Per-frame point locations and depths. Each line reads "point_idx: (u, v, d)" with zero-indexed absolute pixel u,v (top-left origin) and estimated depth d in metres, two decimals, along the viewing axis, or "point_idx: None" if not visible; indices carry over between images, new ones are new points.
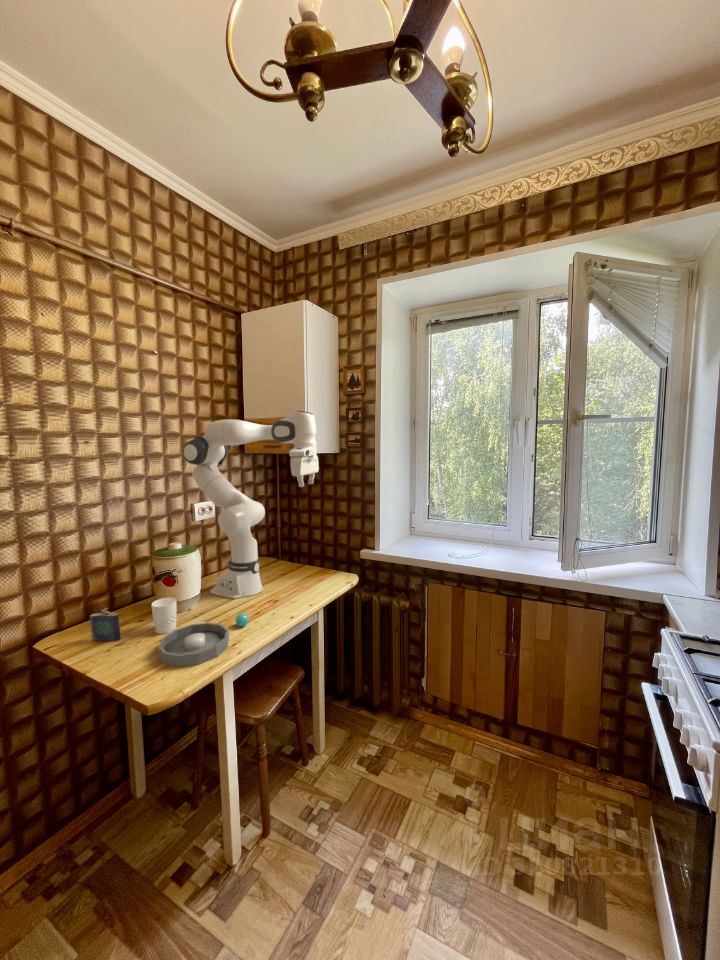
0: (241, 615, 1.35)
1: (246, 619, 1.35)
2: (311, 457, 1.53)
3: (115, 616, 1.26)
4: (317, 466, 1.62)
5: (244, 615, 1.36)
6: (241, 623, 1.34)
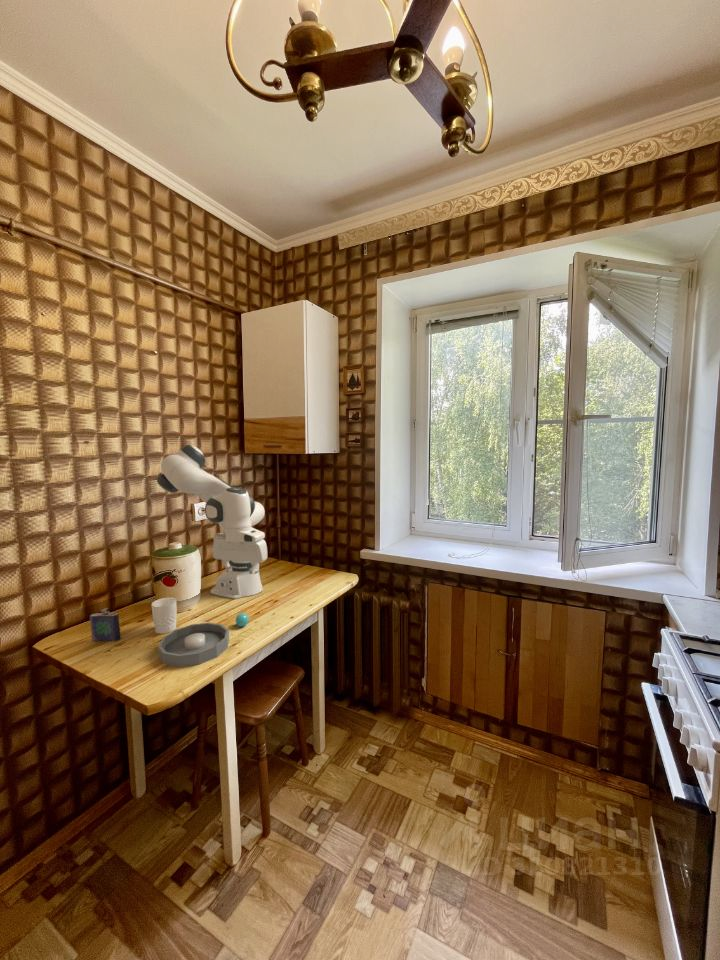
0: (241, 615, 1.35)
1: (246, 619, 1.35)
2: None
3: (115, 616, 1.27)
4: None
5: (244, 615, 1.36)
6: (241, 623, 1.34)
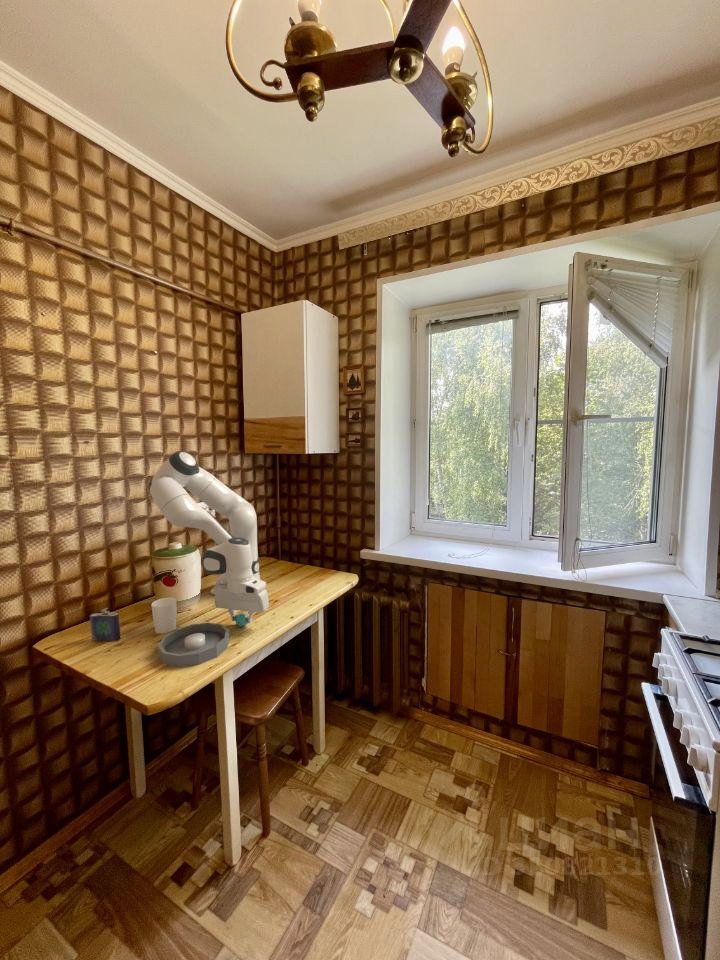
0: (241, 615, 1.35)
1: None
2: None
3: (115, 616, 1.27)
4: None
5: (244, 615, 1.36)
6: (240, 623, 1.34)
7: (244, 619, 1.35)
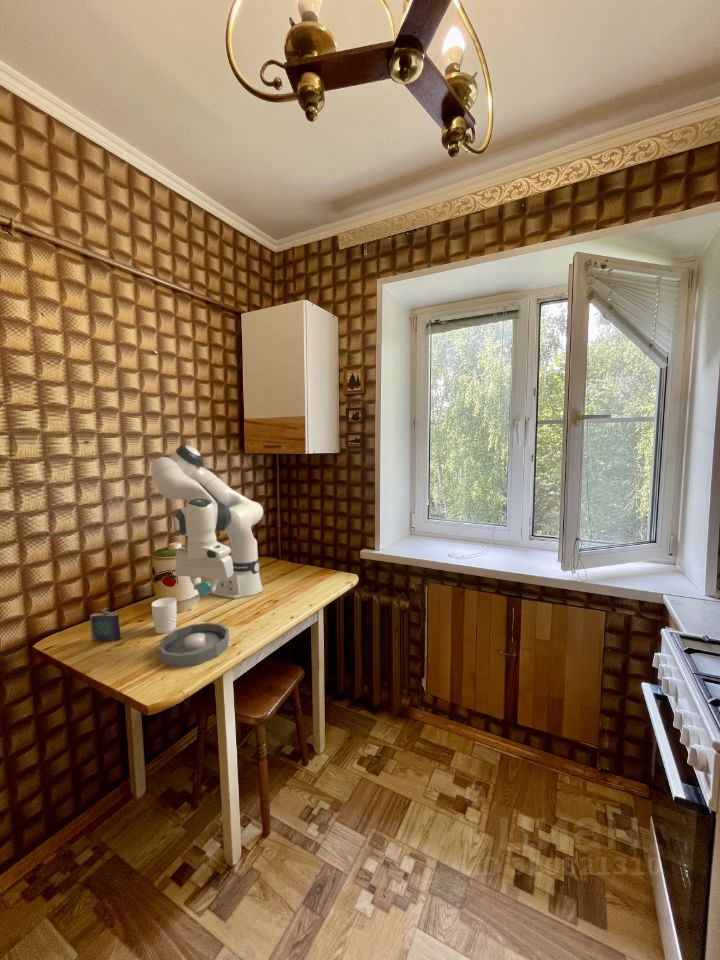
0: (203, 583, 1.25)
1: None
2: None
3: (115, 616, 1.27)
4: None
5: (207, 583, 1.25)
6: (202, 592, 1.24)
7: (206, 587, 1.24)
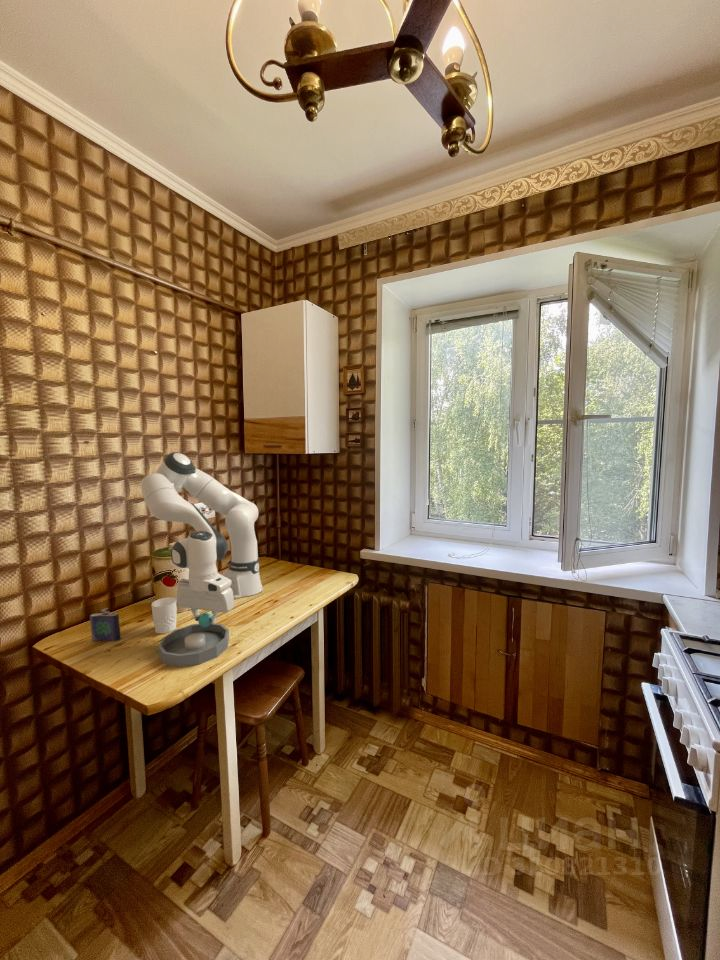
0: (204, 615, 1.26)
1: None
2: None
3: (115, 616, 1.27)
4: None
5: (207, 615, 1.26)
6: (203, 624, 1.25)
7: (207, 619, 1.25)
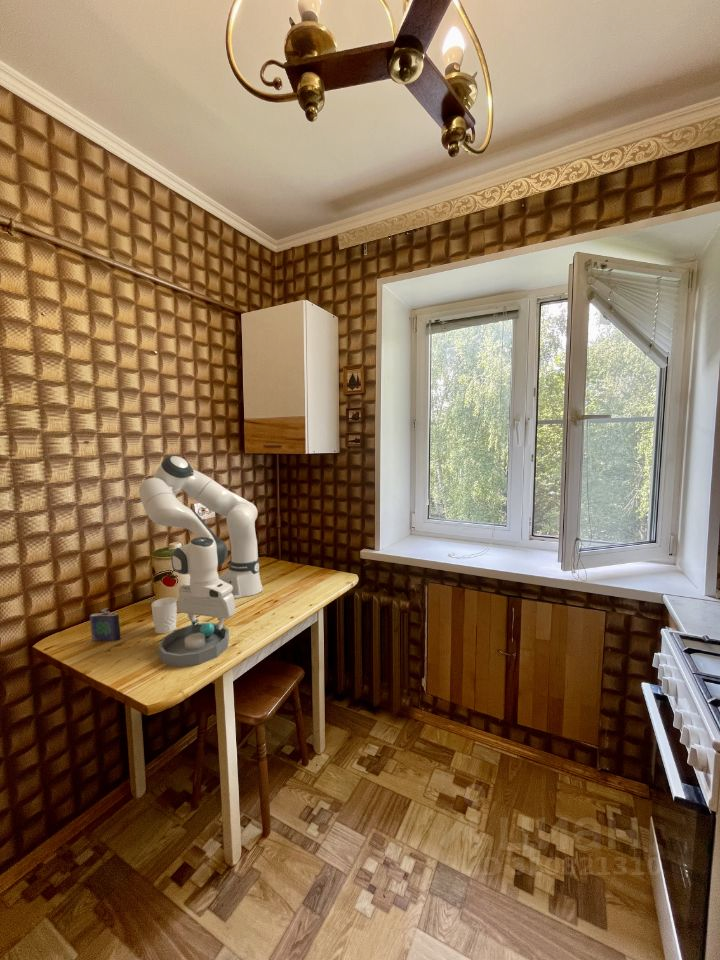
0: (206, 625, 1.26)
1: (211, 629, 1.26)
2: None
3: (115, 616, 1.27)
4: None
5: (209, 625, 1.27)
6: (205, 634, 1.25)
7: (209, 629, 1.26)
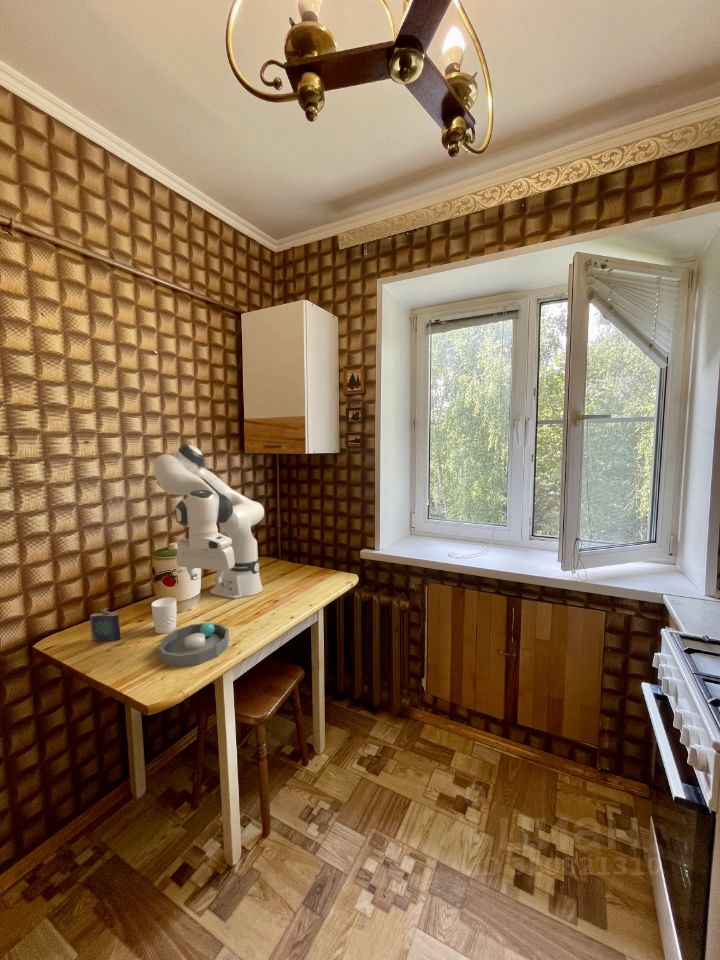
0: (206, 625, 1.26)
1: (211, 629, 1.26)
2: None
3: (115, 616, 1.27)
4: None
5: (209, 625, 1.27)
6: (205, 634, 1.25)
7: (209, 629, 1.26)
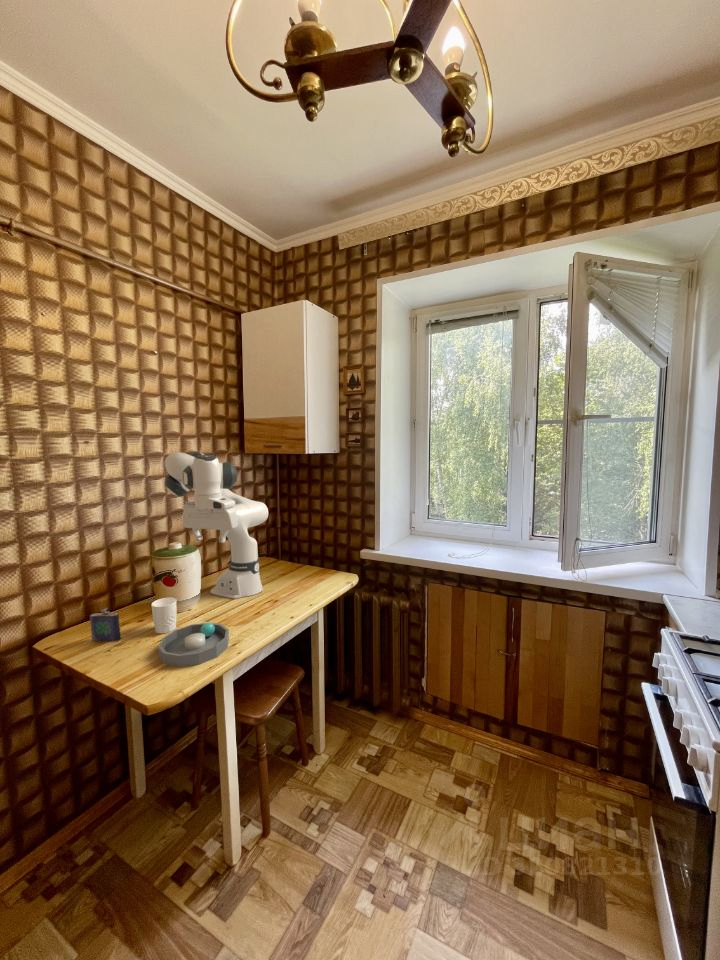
0: (207, 625, 1.26)
1: (212, 629, 1.26)
2: None
3: (115, 616, 1.27)
4: None
5: (210, 625, 1.27)
6: (205, 634, 1.25)
7: (210, 630, 1.26)
